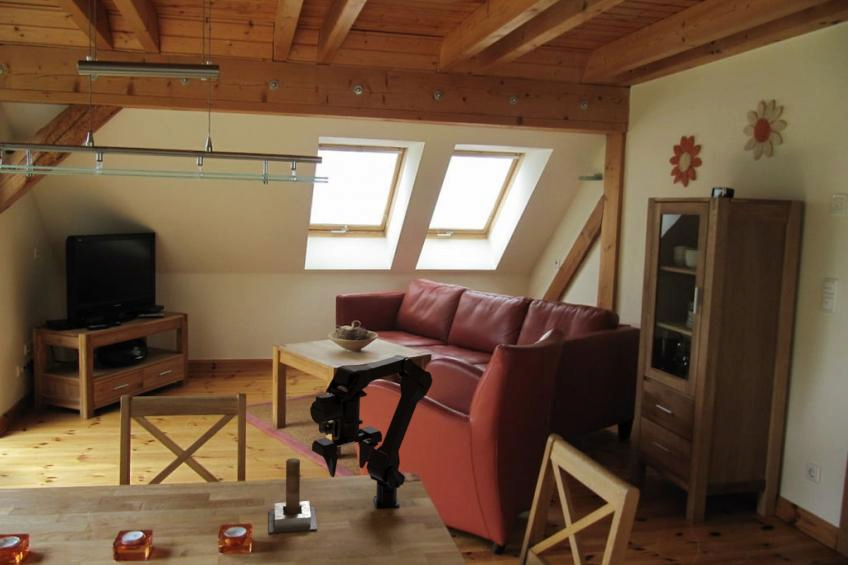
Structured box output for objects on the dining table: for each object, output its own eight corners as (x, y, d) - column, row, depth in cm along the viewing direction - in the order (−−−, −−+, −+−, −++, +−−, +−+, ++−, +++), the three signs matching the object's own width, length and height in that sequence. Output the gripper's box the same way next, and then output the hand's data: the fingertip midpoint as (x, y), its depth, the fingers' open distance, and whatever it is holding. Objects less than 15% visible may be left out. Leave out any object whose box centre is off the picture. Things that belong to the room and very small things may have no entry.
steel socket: (268, 511, 188) (268, 500, 188) (314, 508, 191) (314, 498, 190) (268, 534, 177) (268, 522, 176) (316, 530, 179) (317, 519, 179)
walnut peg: (287, 515, 185) (288, 457, 183) (300, 516, 185) (301, 458, 183) (284, 521, 182) (284, 463, 179) (297, 522, 182) (298, 464, 179)
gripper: (359, 400, 193) (357, 454, 196) (300, 413, 181) (299, 470, 183) (384, 411, 185) (382, 467, 188) (325, 425, 173) (323, 485, 175)
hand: (347, 472), depth 184 cm, fingers open, 9 cm apart
